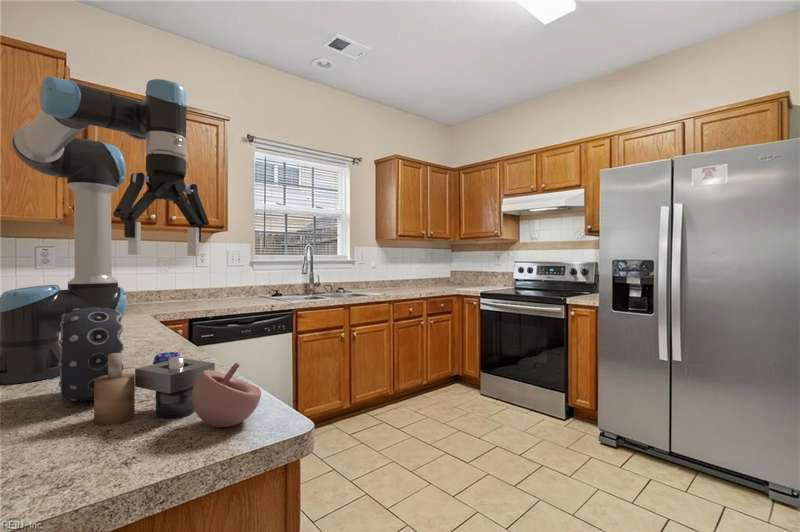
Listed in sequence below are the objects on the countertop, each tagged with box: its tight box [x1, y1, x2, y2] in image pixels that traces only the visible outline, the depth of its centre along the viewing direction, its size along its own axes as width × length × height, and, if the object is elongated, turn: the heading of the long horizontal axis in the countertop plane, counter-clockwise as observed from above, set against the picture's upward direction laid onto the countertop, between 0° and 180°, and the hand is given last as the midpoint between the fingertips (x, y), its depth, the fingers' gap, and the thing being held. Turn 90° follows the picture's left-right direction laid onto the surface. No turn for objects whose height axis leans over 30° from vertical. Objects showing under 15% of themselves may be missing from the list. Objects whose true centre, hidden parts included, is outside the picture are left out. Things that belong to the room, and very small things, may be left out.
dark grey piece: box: [58, 307, 125, 402], centre depth 90 cm, size 11×20×20 cm, turn 37°
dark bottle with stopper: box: [155, 356, 196, 420], centre depth 82 cm, size 7×7×11 cm
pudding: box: [152, 351, 181, 365], centre depth 112 cm, size 12×12×5 cm
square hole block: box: [134, 357, 216, 394], centre depth 82 cm, size 10×10×4 cm
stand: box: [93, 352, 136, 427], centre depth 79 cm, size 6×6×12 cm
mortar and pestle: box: [192, 362, 262, 428], centre depth 77 cm, size 12×12×11 cm
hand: (165, 255), depth 88 cm, fingers open, 13 cm apart
